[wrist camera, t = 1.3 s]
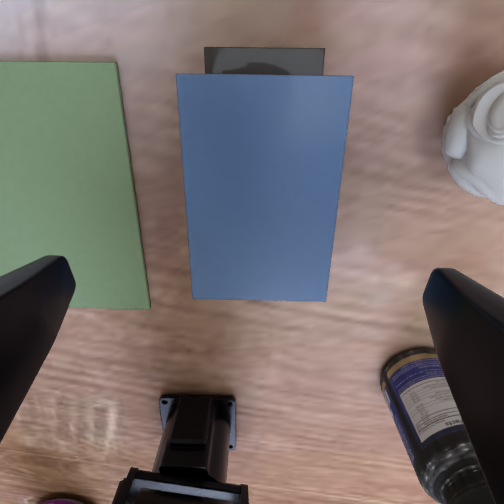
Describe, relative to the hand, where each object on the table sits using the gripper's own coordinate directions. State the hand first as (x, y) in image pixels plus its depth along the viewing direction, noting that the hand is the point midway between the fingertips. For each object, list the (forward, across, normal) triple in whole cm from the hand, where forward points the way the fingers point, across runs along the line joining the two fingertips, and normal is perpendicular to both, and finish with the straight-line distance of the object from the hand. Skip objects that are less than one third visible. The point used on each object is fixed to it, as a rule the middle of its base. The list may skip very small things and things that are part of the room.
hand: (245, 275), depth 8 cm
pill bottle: (+11, -13, +19) cm, 25 cm away
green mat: (+13, +14, +5) cm, 19 cm away
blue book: (+11, 0, +2) cm, 11 cm away
